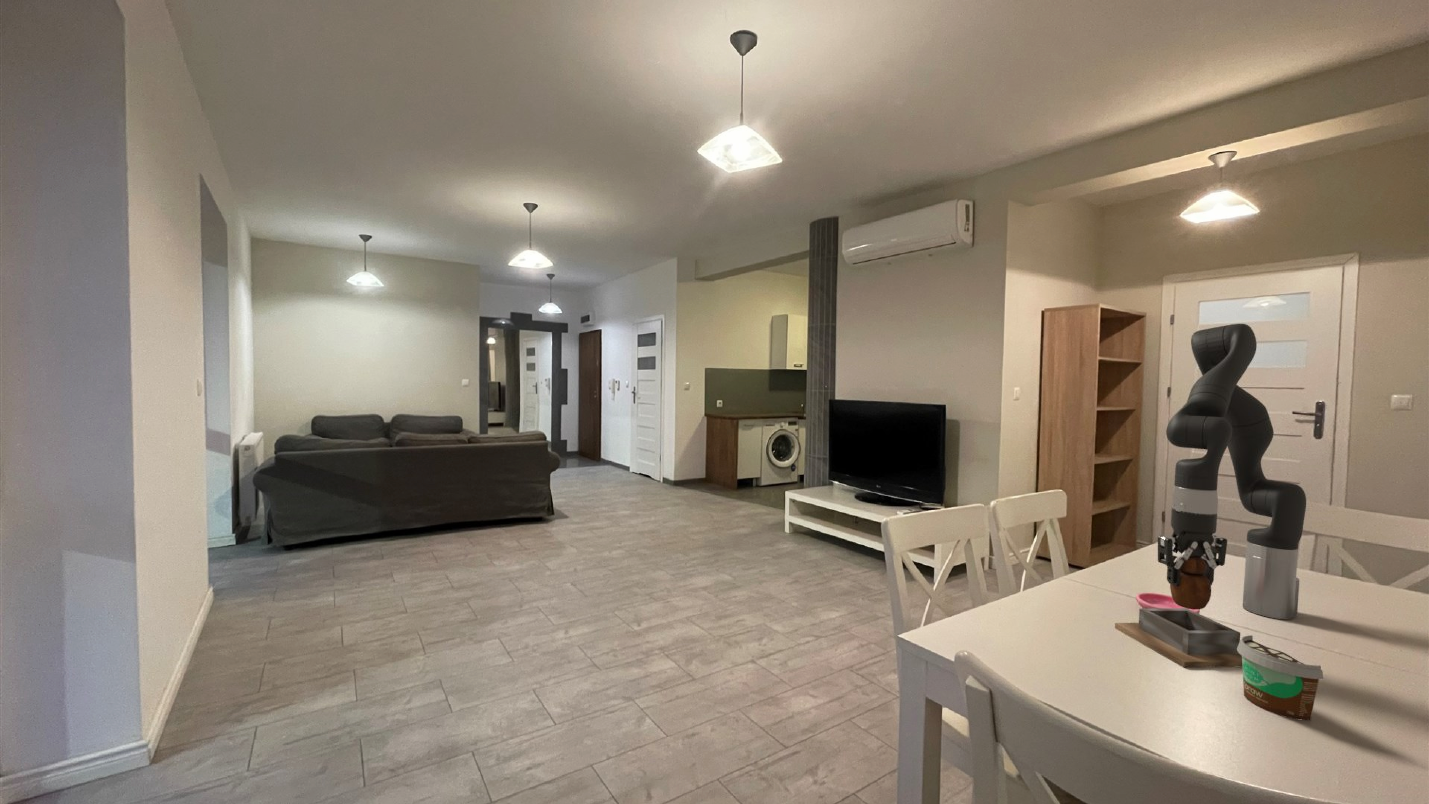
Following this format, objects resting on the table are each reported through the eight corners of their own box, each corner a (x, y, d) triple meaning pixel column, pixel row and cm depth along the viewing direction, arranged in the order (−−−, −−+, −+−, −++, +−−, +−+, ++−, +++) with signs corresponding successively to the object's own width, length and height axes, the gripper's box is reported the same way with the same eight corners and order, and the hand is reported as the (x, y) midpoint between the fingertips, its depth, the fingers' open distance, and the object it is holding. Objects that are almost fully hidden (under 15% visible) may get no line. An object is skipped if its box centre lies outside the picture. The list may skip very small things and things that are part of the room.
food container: (1215, 686, 107) (1219, 634, 107) (1245, 685, 108) (1249, 633, 107) (1287, 726, 95) (1291, 668, 94) (1320, 725, 95) (1324, 667, 95)
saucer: (1175, 605, 147) (1176, 593, 147) (1212, 626, 134) (1213, 613, 134) (1124, 602, 148) (1124, 590, 148) (1156, 623, 136) (1156, 610, 136)
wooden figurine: (1201, 603, 125) (1205, 536, 124) (1215, 614, 119) (1218, 543, 119) (1164, 599, 127) (1167, 533, 126) (1175, 609, 122) (1179, 540, 121)
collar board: (1187, 627, 133) (1189, 603, 133) (1267, 666, 115) (1269, 638, 115) (1114, 628, 132) (1116, 603, 132) (1184, 667, 114) (1185, 639, 114)
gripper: (1209, 504, 126) (1204, 578, 127) (1148, 504, 125) (1144, 578, 126) (1242, 512, 119) (1237, 590, 120) (1178, 512, 118) (1173, 591, 119)
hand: (1189, 584), depth 123 cm, fingers closed on wooden figurine, 7 cm apart
